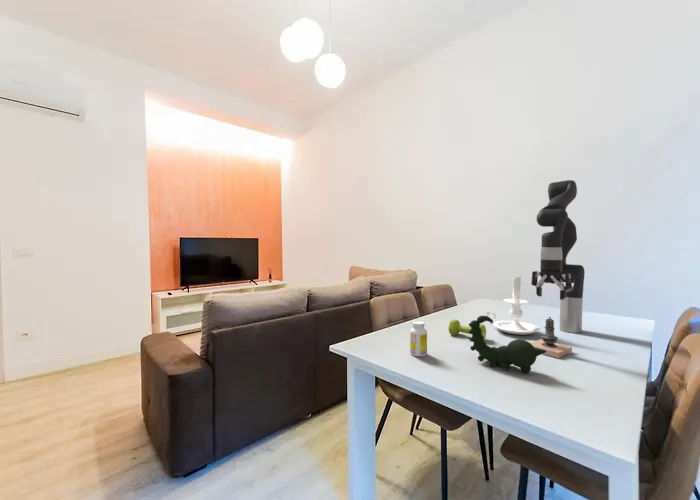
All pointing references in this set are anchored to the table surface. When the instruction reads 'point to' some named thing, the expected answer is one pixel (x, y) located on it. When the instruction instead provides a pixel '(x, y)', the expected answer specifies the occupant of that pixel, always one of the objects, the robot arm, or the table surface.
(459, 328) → the dumbbell
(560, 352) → the picture frame
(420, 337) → the supplement bottle
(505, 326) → the candlestick
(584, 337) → the table surface
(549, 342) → the grey ridged upright piece
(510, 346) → the toy figurine
